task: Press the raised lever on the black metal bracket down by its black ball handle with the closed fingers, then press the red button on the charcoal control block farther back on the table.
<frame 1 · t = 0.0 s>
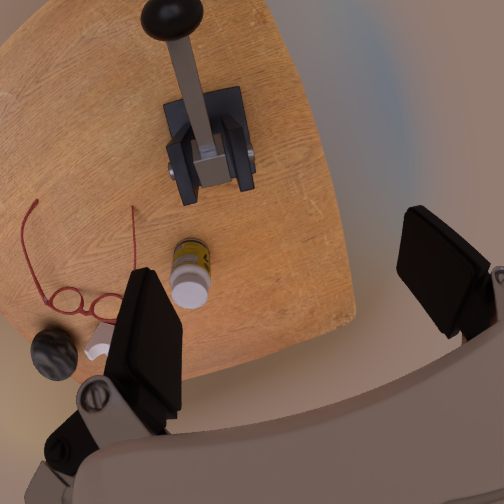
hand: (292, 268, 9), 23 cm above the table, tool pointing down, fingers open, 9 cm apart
bracket: (210, 136, 27), on the table
supplement bottle: (192, 252, 35), on the table
red eyeglasses: (86, 253, 33), on the table
bracket 2: (124, 344, 44), on the table
lever: (193, 97, 13), point 14 cm above the table, hinge at 30.0°
decorative stone: (61, 334, 41), on the table
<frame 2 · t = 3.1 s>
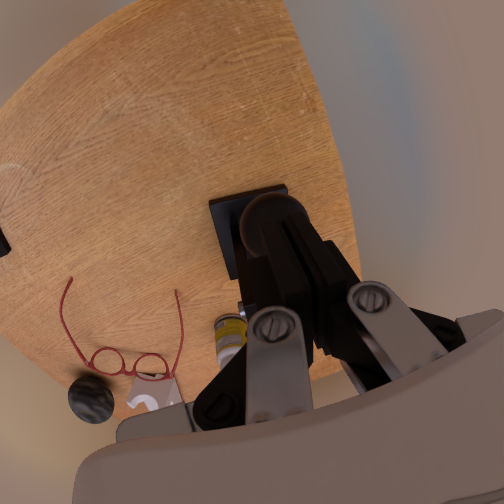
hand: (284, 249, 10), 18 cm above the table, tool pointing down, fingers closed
bracket: (254, 232, 30), on the table
supplement bottle: (230, 323, 38), on the table
red eyeglasses: (126, 323, 36), on the table
bracket 2: (158, 387, 47), on the table
lever: (276, 275, 16), point 14 cm above the table, hinge at 27.5°, touching gripper
decorative stone: (94, 379, 44), on the table
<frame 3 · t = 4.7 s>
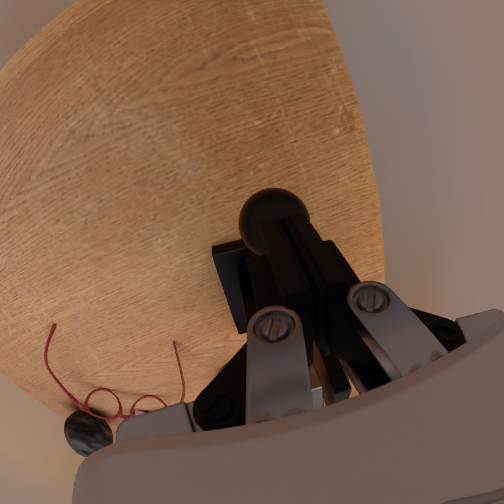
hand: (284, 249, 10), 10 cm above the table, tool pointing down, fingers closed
bracket: (269, 281, 24), on the table
red eyeglasses: (120, 368, 30), on the table
lever: (292, 326, 13), point 10 cm above the table, hinge at -14.0°, touching gripper
decorative stone: (91, 412, 38), on the table
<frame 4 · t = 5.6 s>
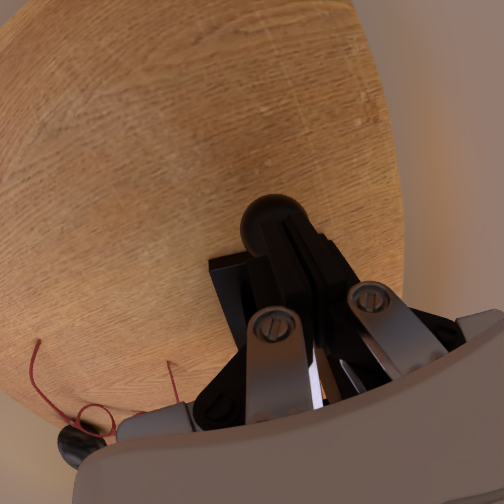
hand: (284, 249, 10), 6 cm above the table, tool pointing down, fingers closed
bracket: (276, 298, 21), on the table
red eyeglasses: (111, 386, 26), on the table
lever: (300, 347, 12), point 8 cm above the table, hinge at -33.5°, touching gripper
decorative stone: (85, 424, 35), on the table
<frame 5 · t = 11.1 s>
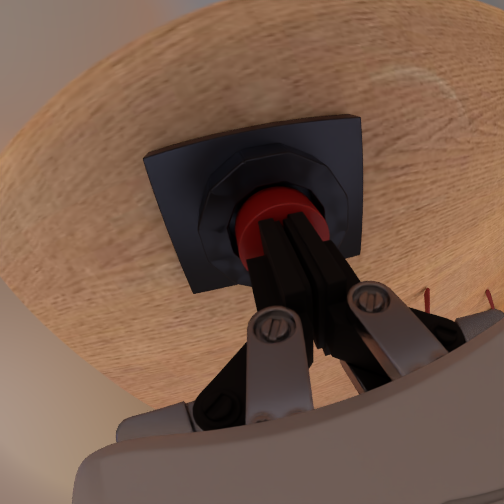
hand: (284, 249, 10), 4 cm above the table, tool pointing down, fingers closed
control block: (265, 201, 14), on the table
button: (280, 234, 11), point 3 cm above the table, slide at 0.0 cm, touching gripper
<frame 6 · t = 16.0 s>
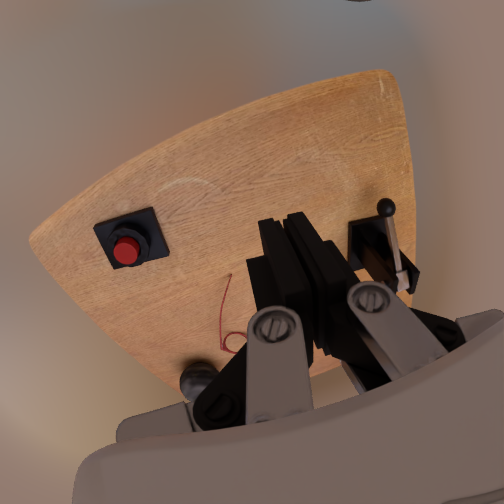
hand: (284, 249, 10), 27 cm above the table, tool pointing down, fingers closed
bracket: (367, 241, 46), on the table
control block: (131, 238, 39), on the table
lever: (393, 244, 36), point 8 cm above the table, hinge at -32.5°
decorative stone: (200, 365, 59), on the table
button: (126, 250, 36), point 3 cm above the table, slide at 0.1 cm
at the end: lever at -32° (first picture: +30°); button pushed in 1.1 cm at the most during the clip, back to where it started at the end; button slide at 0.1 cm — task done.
